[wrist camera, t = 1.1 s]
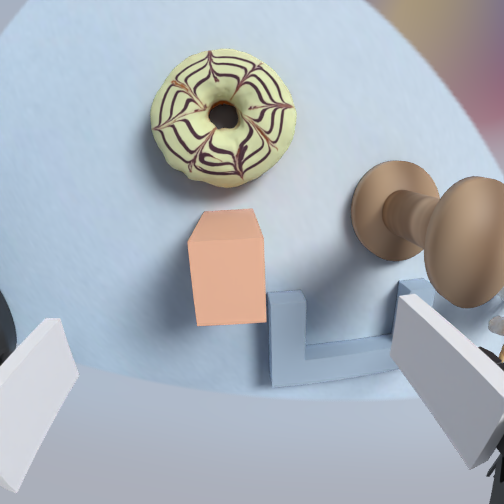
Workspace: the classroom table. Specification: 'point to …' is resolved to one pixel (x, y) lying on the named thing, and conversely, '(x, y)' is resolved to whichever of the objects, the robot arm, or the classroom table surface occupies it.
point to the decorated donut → (223, 140)
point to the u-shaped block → (326, 354)
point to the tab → (228, 268)
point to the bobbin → (435, 228)
